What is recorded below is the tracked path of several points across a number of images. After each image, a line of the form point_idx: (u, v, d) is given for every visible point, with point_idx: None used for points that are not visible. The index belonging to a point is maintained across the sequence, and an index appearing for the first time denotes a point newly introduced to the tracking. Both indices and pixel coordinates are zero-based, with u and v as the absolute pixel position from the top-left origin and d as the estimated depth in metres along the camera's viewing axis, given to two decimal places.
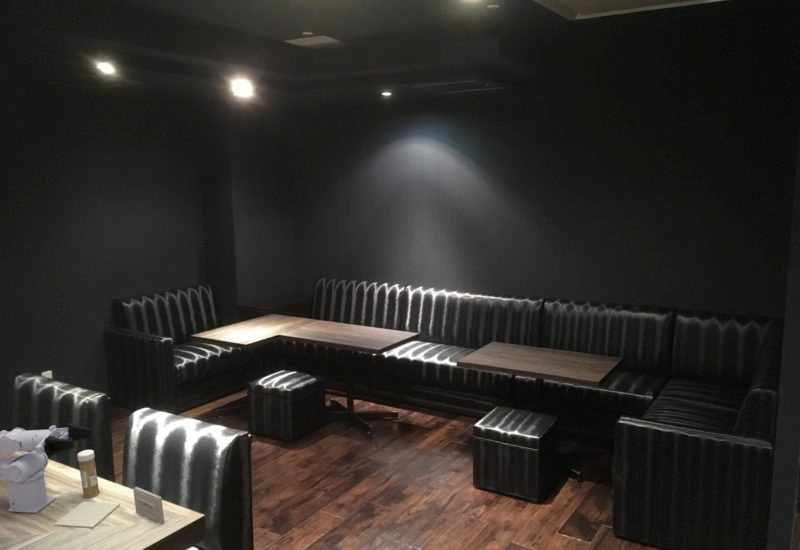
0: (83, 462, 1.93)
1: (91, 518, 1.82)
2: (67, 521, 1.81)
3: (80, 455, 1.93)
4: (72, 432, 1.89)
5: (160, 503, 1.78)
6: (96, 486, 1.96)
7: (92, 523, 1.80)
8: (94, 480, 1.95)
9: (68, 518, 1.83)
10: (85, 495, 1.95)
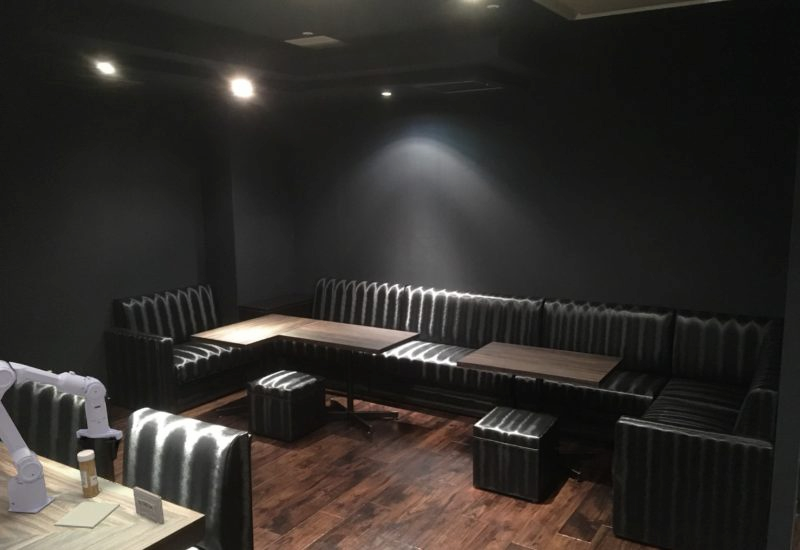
0: (83, 462, 1.93)
1: (91, 518, 1.82)
2: (67, 521, 1.81)
3: (80, 455, 1.93)
4: (90, 440, 2.02)
5: (160, 503, 1.78)
6: (96, 486, 1.96)
7: (92, 523, 1.80)
8: (94, 480, 1.95)
9: (68, 518, 1.83)
10: (85, 495, 1.95)
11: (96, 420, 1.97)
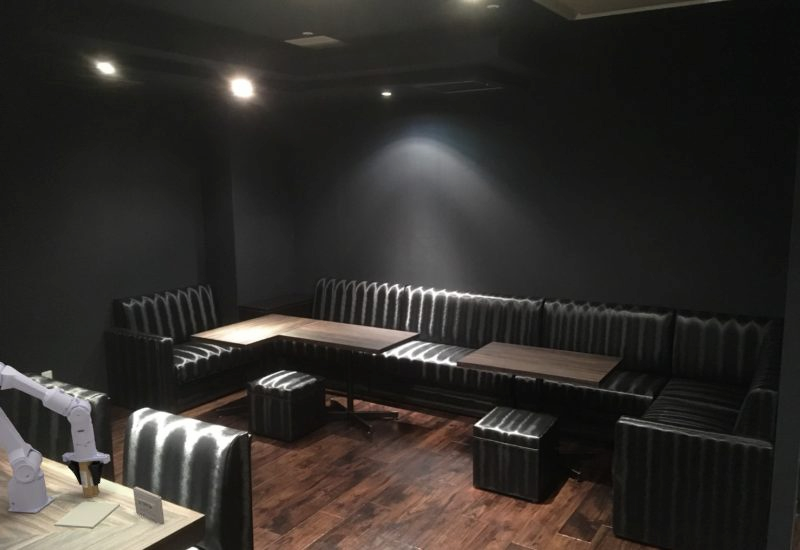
0: (83, 462, 1.93)
1: (91, 518, 1.82)
2: (67, 521, 1.81)
3: None
4: None
5: (160, 503, 1.78)
6: (96, 486, 1.96)
7: (92, 523, 1.80)
8: None
9: (68, 518, 1.83)
10: (85, 495, 1.95)
11: (83, 444, 1.91)
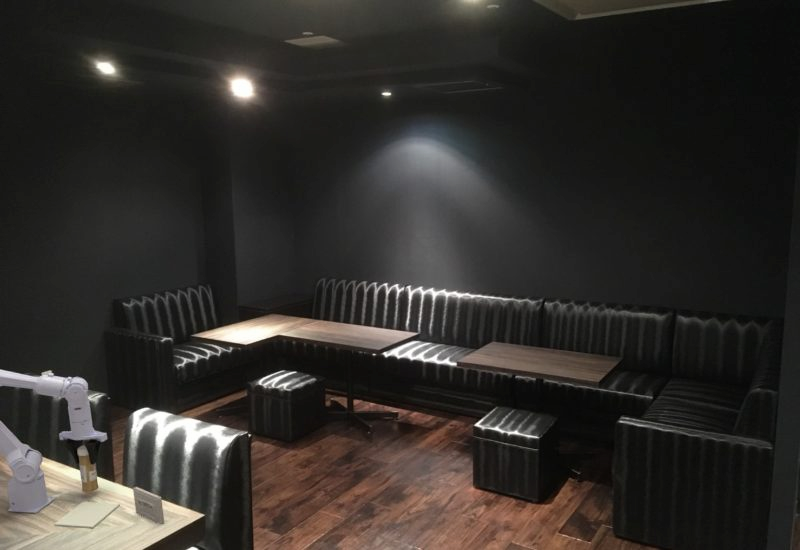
0: (83, 457, 1.93)
1: (91, 518, 1.82)
2: (67, 521, 1.81)
3: (80, 449, 1.93)
4: (78, 442, 1.95)
5: (160, 503, 1.78)
6: (95, 481, 1.96)
7: (92, 523, 1.80)
8: (93, 475, 1.95)
9: (68, 518, 1.83)
10: (84, 490, 1.94)
11: (79, 422, 1.90)
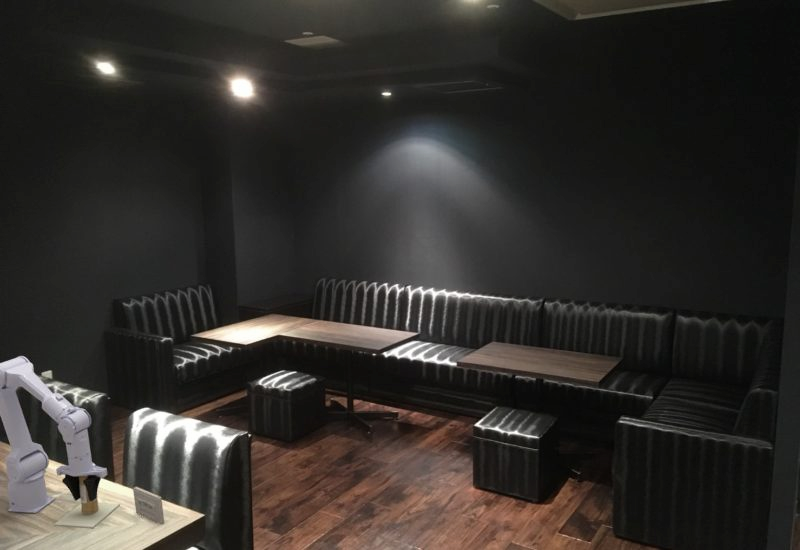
0: (84, 476, 1.82)
1: (91, 518, 1.82)
2: (67, 521, 1.81)
3: None
4: (76, 478, 1.84)
5: (160, 503, 1.78)
6: (96, 502, 1.85)
7: (92, 523, 1.80)
8: None
9: (68, 518, 1.83)
10: (83, 511, 1.84)
11: (78, 457, 1.79)
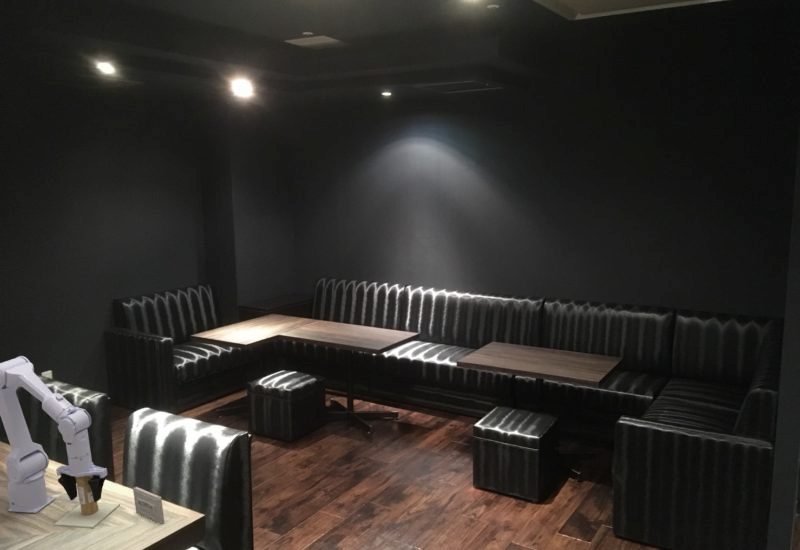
0: (80, 478, 1.82)
1: (91, 518, 1.82)
2: (67, 521, 1.81)
3: None
4: (72, 478, 1.84)
5: (160, 503, 1.78)
6: (95, 502, 1.85)
7: (92, 523, 1.80)
8: (92, 496, 1.84)
9: (68, 518, 1.83)
10: (83, 512, 1.84)
11: (78, 457, 1.79)
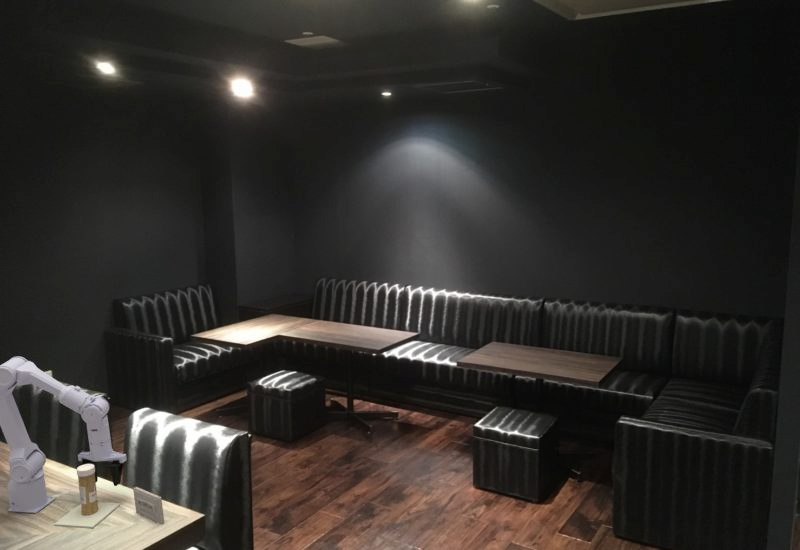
0: (83, 477, 1.82)
1: (91, 518, 1.82)
2: (67, 521, 1.81)
3: (80, 469, 1.82)
4: (92, 463, 1.93)
5: (160, 503, 1.78)
6: (95, 502, 1.85)
7: (92, 523, 1.80)
8: (93, 496, 1.84)
9: (68, 518, 1.83)
10: (83, 512, 1.84)
11: (99, 443, 1.88)
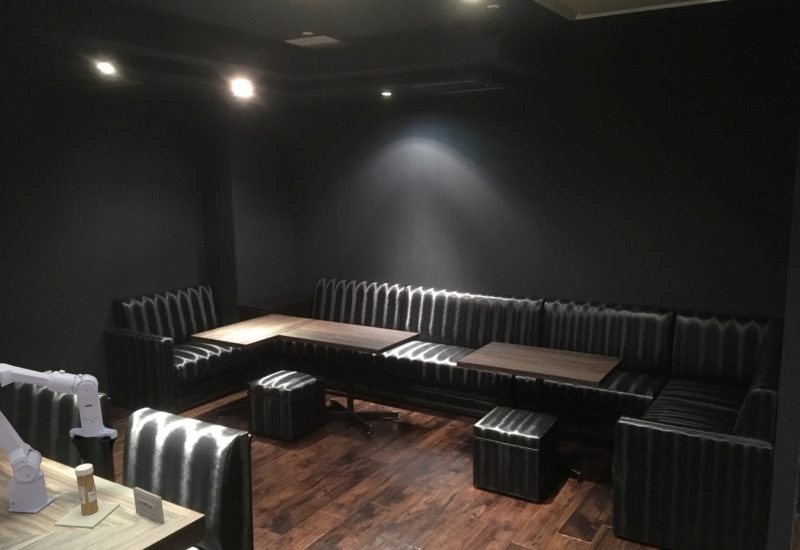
0: (81, 477, 1.82)
1: (91, 518, 1.82)
2: (67, 521, 1.81)
3: (78, 469, 1.82)
4: (84, 439, 1.97)
5: (160, 503, 1.78)
6: (95, 502, 1.85)
7: (92, 523, 1.80)
8: (93, 496, 1.84)
9: (68, 518, 1.83)
10: (83, 512, 1.84)
11: (90, 419, 1.91)
